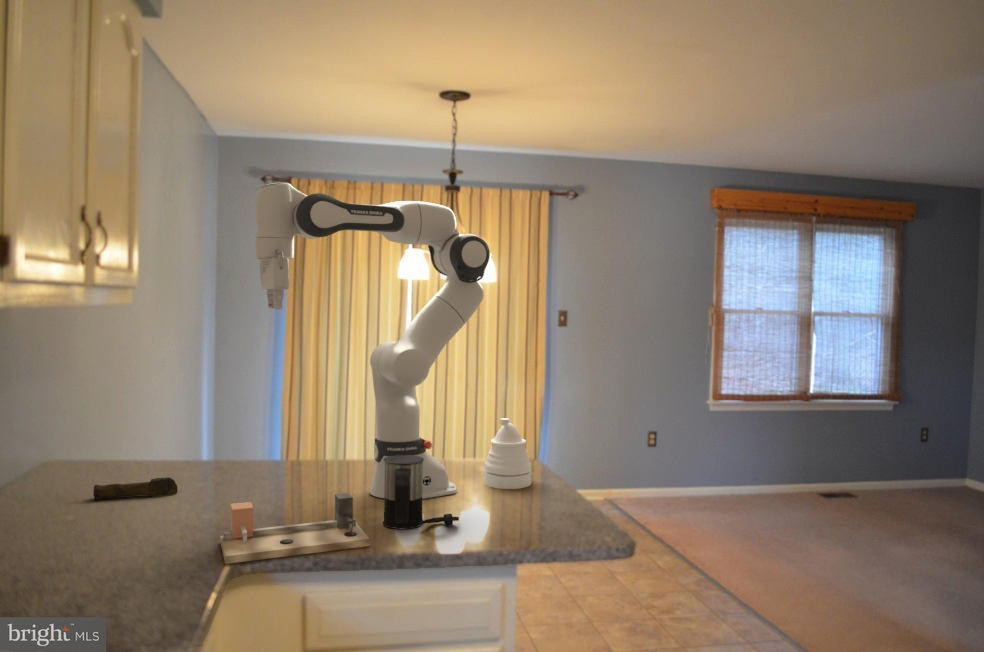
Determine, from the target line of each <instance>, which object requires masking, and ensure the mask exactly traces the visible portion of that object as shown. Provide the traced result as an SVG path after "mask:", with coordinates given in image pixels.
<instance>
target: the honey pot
mask: <svg viewBox="0 0 984 652" xmlns="http://www.w3.org/2000/svg"><path fill="white" fill-rule="evenodd" d="M499 419H500V420H499V421H500V424H501V427H500V428H499V429H498V431H497V433H496V434H495V436H494V438H491V439H490V442H489V443H490V444H491V447H490V449H489V450H488V455H487V457H486V461H485V463H484V471H483V472H484V473H483V475H484V479H483V480H484V481H483V484H484V485H485V486H488V487H489V488H494V489H500V490H502V489H504V490H516V489H517V490H518V489H523V488H527V487H529V486H531V485H532V463H531V462H530V457H529V455H528V454H529V452H528V451H527V449H526V445H527V440H526V439H524V438H523V437H522V436H521V433H520V431H519V430H518V428H517V427H516V426H515V425H514V424H513V423H511V422H510V421H511V419H510V418H507V417H506V418H505V417H502V418H499Z"/></svg>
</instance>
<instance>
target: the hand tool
mask: <svg viewBox="0 0 984 652" xmlns="http://www.w3.org/2000/svg"><path fill="white" fill-rule="evenodd" d="M175 494H178V485H177V483H176V481H175V480H174V479H173V478H171V477H169V476H168V477H167V476H166V477H155V478H151V479H150V481H145V482H143V481H142V482H134V483H133V482H132V483H113V484H111V483H110V484H103V485H100V484H95V485H93V497H94V498H93V500H94V501H97V500H101V501H102V500H104V499H112V498H124V497H125V498H126V497H137V496H139V497H140V496H151V497H154V498H155V497H164V496H170V495H171V496H173V495H175Z"/></svg>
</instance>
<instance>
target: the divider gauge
mask: <svg viewBox="0 0 984 652" xmlns="http://www.w3.org/2000/svg"><path fill="white" fill-rule="evenodd" d="M353 507H354V497H353V496H352V495H351V493H350V492H343V493H335V494H334V520H333V519H331V520H325V521H315V522H314V521H313V522H308V523H307V522H306V523H305V522H304V523H298V524H297V523H295V524H287V525H286V524H285V525H279V526H278V525H277V526H270V527H261V528H253V536H250V537H247V544H243V537H241V538H232V531H231V530H230V531H224V532H223V534H222V535H220V539H219V541H220V543H219V544H220V547H221V550H222V551H221V553H222V557H223V560H224V564H225V565H228V564H229V565H230V564H235V563H243V562H251V561H258V560H259V561H260V560H267V559H275V558H283V557H291V556H292V557H293V556H301V555H307V554H315V553H324V552H332V551H338V550H339V551H340V550H347V549H348V550H349V549H357V548H363V547H370V537H369V536H368V535H367V534H366V532H365V531H364V530H363V529H362V528H361V526H360V525H359V524H358V523H357V520H356V518H355V517H354V515H353V514H354V512H353V511H354V508H353Z"/></svg>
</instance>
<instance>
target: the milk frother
mask: <svg viewBox="0 0 984 652" xmlns="http://www.w3.org/2000/svg"><path fill="white" fill-rule="evenodd" d="M383 460H384V461H385V483H384V496H385V497H384V498H383V499H384V501H383V502H384V503H383V505H384V506H383V507H384V508H383V509H384V510H383V521H382V525H383V526H384V527H387V528H389V529H390V528H391V529H396V530H397V529H401V530H407V529H414V528H418V527H421V526H423V525H425V524H434V523H435V524H436V523H444V526H445V527H450V526H452V525H454V522H455V521H459V520H460V518H459V516H453V514H452V513H444V514H443V515H442V516H440V517H432V518H427V519H425V520H424V518H423V517H424V516H423V499H422V478H423V461H424V458H423V457H420V456H414V455H395V456H389V457H386V458H384V459H383Z"/></svg>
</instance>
